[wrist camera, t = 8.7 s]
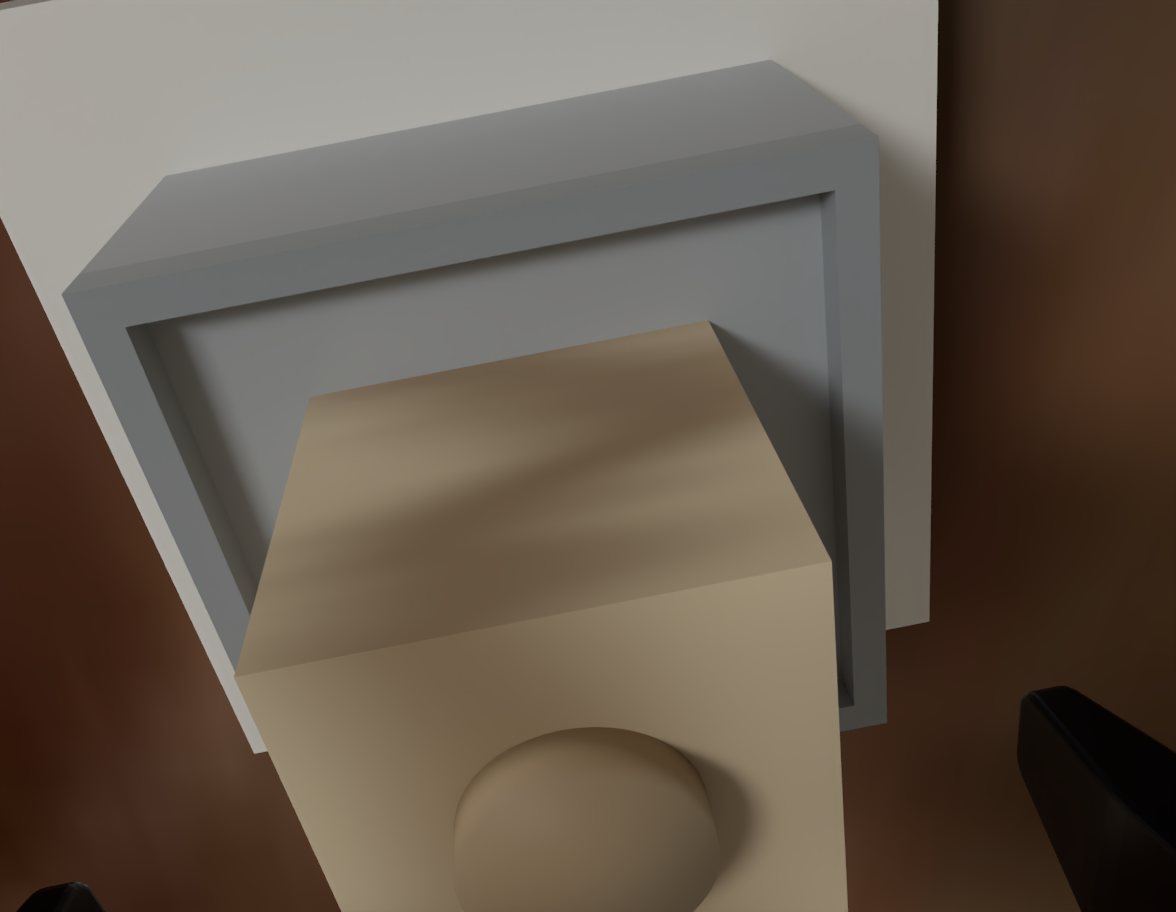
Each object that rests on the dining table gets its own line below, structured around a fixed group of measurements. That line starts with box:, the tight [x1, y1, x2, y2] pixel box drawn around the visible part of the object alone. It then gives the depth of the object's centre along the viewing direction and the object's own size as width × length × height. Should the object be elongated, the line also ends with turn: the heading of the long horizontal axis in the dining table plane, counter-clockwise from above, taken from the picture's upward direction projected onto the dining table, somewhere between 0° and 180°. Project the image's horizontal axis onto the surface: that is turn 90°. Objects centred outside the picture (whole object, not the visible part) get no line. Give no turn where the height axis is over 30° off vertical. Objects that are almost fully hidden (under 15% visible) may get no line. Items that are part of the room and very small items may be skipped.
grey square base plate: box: [0, 0, 938, 754], centre depth 16 cm, size 14×14×6 cm
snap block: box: [234, 320, 848, 912], centre depth 12 cm, size 5×5×6 cm
